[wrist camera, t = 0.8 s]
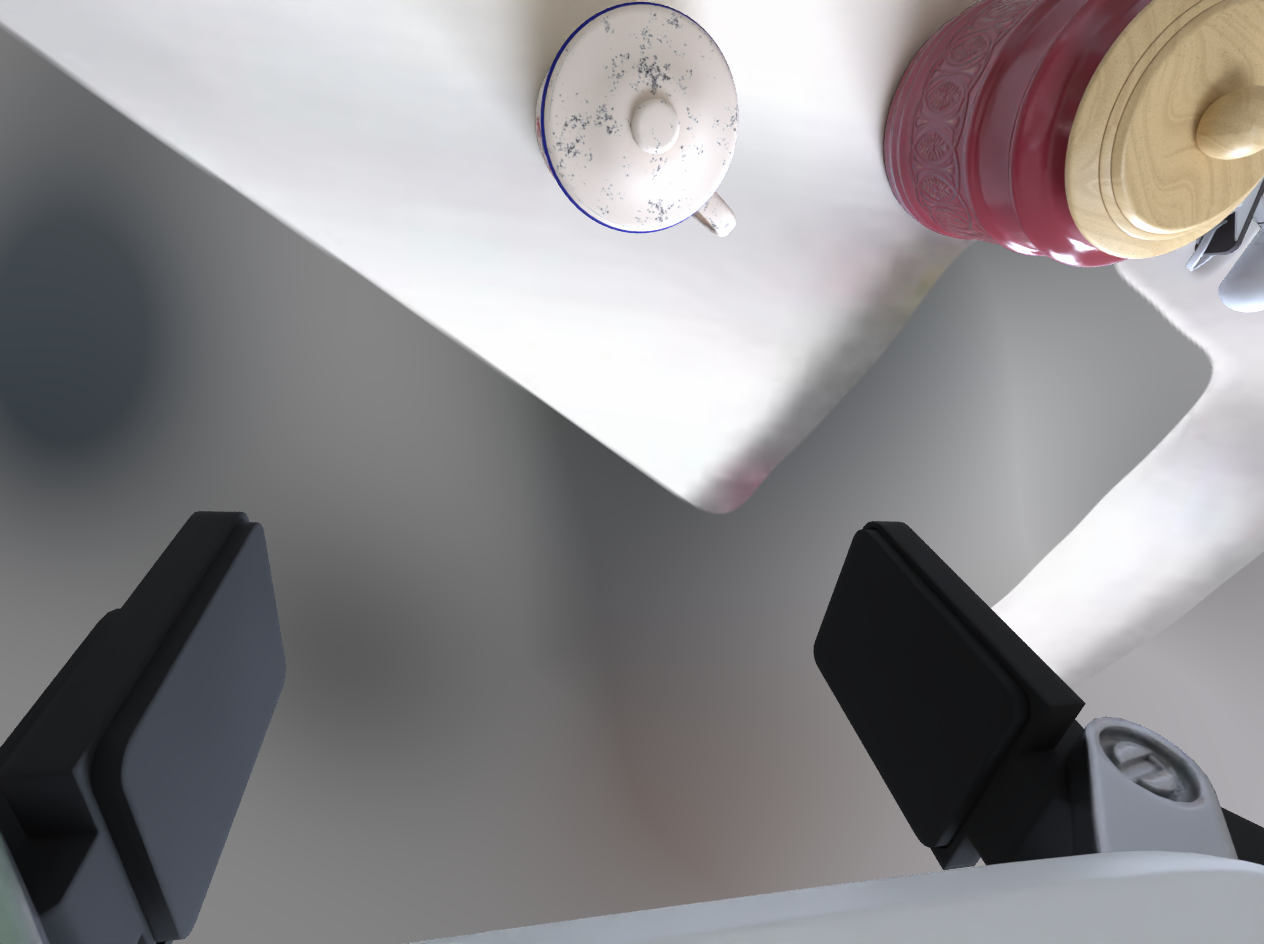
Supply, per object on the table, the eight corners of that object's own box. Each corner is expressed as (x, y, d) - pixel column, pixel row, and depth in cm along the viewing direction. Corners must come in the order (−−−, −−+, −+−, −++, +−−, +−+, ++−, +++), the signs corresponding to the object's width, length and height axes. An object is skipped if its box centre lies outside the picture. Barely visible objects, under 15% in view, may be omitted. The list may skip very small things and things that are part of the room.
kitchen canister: (863, 46, 36) (1131, -11, 21) (1073, -42, 36) (1494, -163, 21) (891, 263, 43) (1109, 339, 28) (1068, 190, 43) (1385, 225, 27)
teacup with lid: (496, 133, 35) (498, 136, 25) (602, -16, 32) (652, -79, 22) (652, 275, 40) (705, 326, 30) (752, 156, 38) (846, 167, 28)
